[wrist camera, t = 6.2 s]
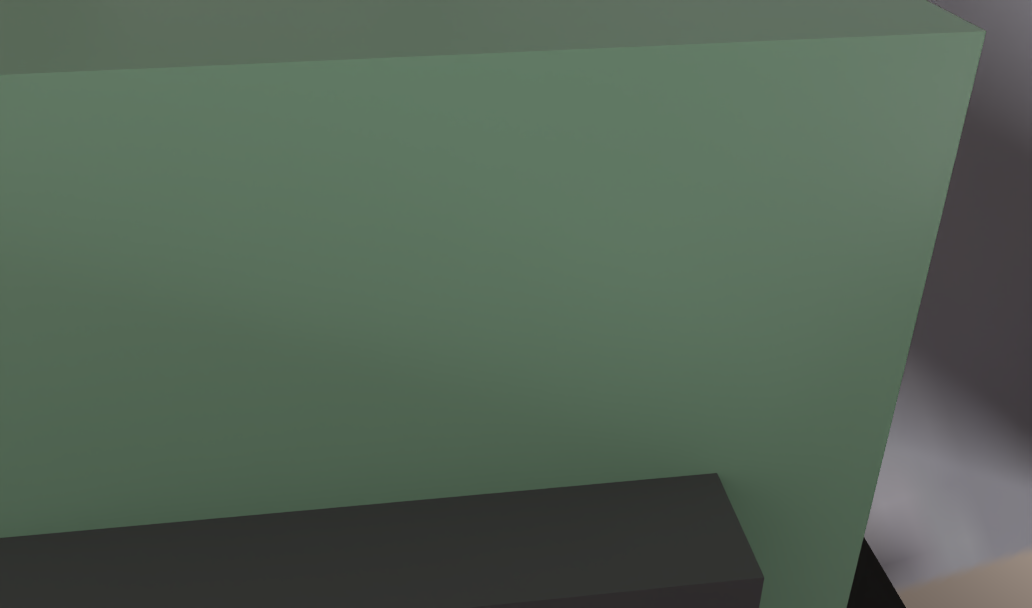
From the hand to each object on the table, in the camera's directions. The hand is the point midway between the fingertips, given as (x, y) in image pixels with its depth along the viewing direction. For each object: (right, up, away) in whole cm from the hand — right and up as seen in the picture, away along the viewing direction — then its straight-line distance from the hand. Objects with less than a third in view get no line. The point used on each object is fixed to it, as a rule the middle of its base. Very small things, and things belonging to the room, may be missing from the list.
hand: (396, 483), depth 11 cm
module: (0, 0, +1) cm, 1 cm away
